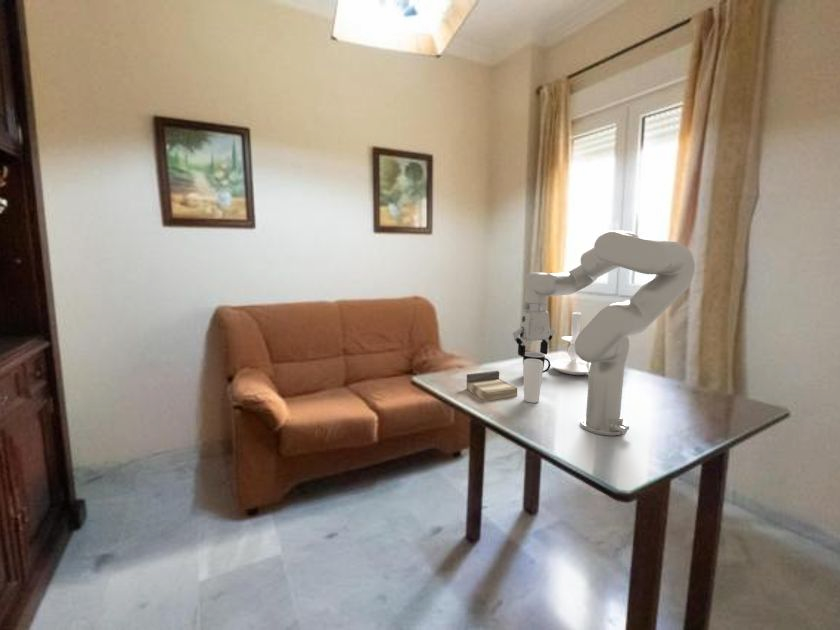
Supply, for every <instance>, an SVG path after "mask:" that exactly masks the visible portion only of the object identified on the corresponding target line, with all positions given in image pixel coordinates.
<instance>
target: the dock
mask: <svg viewBox="0 0 840 630" xmlns="http://www.w3.org/2000/svg"><path fill="white" fill-rule="evenodd" d="M466 390H467V391H469V392H470V393H472V394H473V395H475V396H477V397H478V398H480V399H482V400H483V401H484V402H485V401H492V400H493V401H494V400H499V399H506V398H507V399H508V398H512V397H518V387H516V386H515V385H512V384H510V383H508V382H507V381H504V380H502V379H500V370H491V371H483V372H476V373H469V374H468V373H467V374H466Z"/></svg>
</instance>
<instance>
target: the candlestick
mask: <svg viewBox="0 0 840 630" xmlns="http://www.w3.org/2000/svg"><path fill="white" fill-rule="evenodd" d="M581 318H582V313H581V312H580V311H574V312H572V314H571V323H570V324H571V328H570V335H569V336H568V335H567V336H566V335H565V336H561V339H562V340H564V341H567V342H569V343H570V345H569V346H568V349H566V350H567V351H566V352H567V355H568V357H569V358H570V359H555V360H553V361H550V367H551V368H554V369H555V370H557V371H558V372H560V373H563V374H568V375H572V376H573V375H574V376H575V375H576V376H583V375H587V376H589V370H590V365H591V362H586V361H584V360H577V358H579V356H578V355H577V353H576V351H575V341H576V338H577V336H578V335H579V334H580V331H581V321H582V319H581Z"/></svg>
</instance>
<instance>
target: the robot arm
mask: <svg viewBox="0 0 840 630" xmlns="http://www.w3.org/2000/svg"><path fill="white" fill-rule="evenodd" d="M593 245H594V246H593V248H591V249H589V250H587V251H586V252H584V253H583V254H581V257H580V265H578V266H577V267H575V268H572V270H570V271H568V272H557V273H546V272H540V271H537V272H535V271H534V272H533V271H532V272H528V273H527V274H526V278H525V279H526V281H525V295H524V297H525V298H524V304H523V305H522V309H523V312H522V314H521V318H520V325H519V328H518V329H517V330H515V331H514V332H513V333H512V337H513V338H514V341H515V342H516V344H518V345H517V355H518V356H520V357H522V358H523V357H524V356H525V353H526V343H527V342H528V341H529V342H530V341H531V342H534V341H541V342H540V347H539V349H540V350H539V353H542V354H544V355H548V347H549V344H550V341H552V339H553V336H554V335H555V329H553V328H551V323H550V321H551V320H550V314H549V313H550V312H549V311H547V309H548V298H549V297H558V296H568V295H572V294H575V293H576V292H579V291H581V290H583V289H585V288H586V287H589V286H590V285H591V284H593V283H594V282H596V280H597V279H598V278H599V277H601V276H604V275H605V274H607V273H609V272H611V271H614V270H615V269H617V268H624V269H627V270H629V271H632V272H635V273H636V272H637V273H640V274H644V275H645V274H646V275H654V276H653V277H651V278H650V279H649V280H647V281H646V282H645V283H644V284H643V285H641V286H640V288H639V289H638V290H637V291H636V292H635V293H634V294H633V295H631V296H630V298H628V299H627V300H625V301H622V302H614V303H611V304H608V305H607V306H605V307H603V308H601V309H600V311H599V312H597V314H595V316H594V317H593V318H592V319H591V320H590V321H589V322H588V323H587V325H586V326H585V327H584V328H583V329H582V330H580V331H579V335H578V336H577V338H576V341H575V351H576V353H577V355H578V356H579V357H578V358H579V359H581V361H583V362H591V365H590V370H589V375H588V381H587V382H588V384H587V386H588V387H587V399H586V400H587V401H586V410H585V411H586V413H585V414H586V415H585V416H583V417H582V418H580V420H579V421H580V422H579V423H580V426H581V427H582V428H583V429H584V430H586V431H588V432H590V433H593V434H597V435H601V436H610V437H611V436H613V437H614V436H615V437H616V436H619V435H626V434H627V433H628V431H629V430H630V426H629V425H627V424H624V423H623V421H624V418H623V417H621V410H622V409H621V408H622V397H623V396H622V395H623V385H624V375H625V367H626V361H627V358H628V354H629V350H630V340H629V337H631V336H636V335H638V334H642V333H643V332H644V331H645V330H647V329H648V328H649V327H650V325H652V323H654V322H655V321H656V320H657V319H658V318H659V317H660V316H661V315H662V314H664V313H665V311H666V310H667V309H668V308H669V307H670V306H671V305H672V304H673V303H674V302H675V301H677V300H678V298H679V297H680V296H681V295H682V294H684V292H685V291H686V290H687V289H688V287H689V286H690V284H691V283H692V281H693V278H694V276H695V269H696V268H695V267H696V265H695V259H694V256H693V254H692V252H691V250H690V249H689V248H688V247H687V246H686V245H684V244H682V243H680V242H676V241H670V240H654V239H653V240H652V239H647V238H642V237H640V236H638V235H637V234H636V233H634V232H632V231H627V230H625V231H624V230H608V231H606V232H603V233H602V234H600V235H599V236H597V238H596V240H595V242H594V244H593Z"/></svg>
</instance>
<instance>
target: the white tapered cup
mask: <svg viewBox="0 0 840 630" xmlns="http://www.w3.org/2000/svg"><path fill="white" fill-rule="evenodd" d="M522 371H523V400H524V401H525V402H527V403H532V404H536V403H539V401H540V394H541V386H542V380H543V374H544V373H543V371H544V368H543V361H541V360H539V359H525V360H524V366H523V367H522Z"/></svg>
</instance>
